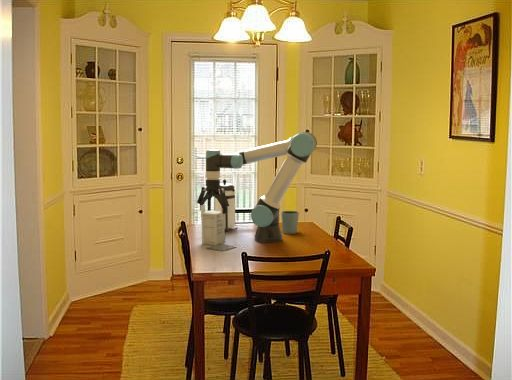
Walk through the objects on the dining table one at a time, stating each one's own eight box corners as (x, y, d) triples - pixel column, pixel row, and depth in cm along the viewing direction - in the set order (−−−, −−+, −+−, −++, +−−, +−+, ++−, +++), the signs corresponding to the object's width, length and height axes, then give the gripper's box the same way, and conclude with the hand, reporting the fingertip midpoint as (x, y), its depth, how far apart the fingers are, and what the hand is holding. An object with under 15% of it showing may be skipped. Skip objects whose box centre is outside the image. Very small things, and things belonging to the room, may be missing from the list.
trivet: (236, 247, 307) (236, 246, 307) (223, 251, 298) (223, 250, 298) (220, 244, 313) (220, 243, 313) (206, 248, 304) (206, 247, 304)
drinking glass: (278, 232, 343) (278, 212, 342) (286, 229, 352) (287, 210, 350) (293, 234, 338) (293, 214, 336) (301, 231, 346) (301, 211, 345)
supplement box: (225, 241, 320) (225, 211, 318) (217, 245, 312) (216, 214, 309) (209, 240, 324) (209, 210, 322) (201, 243, 316) (200, 212, 313)
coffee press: (235, 226, 363) (235, 177, 359) (238, 231, 348) (238, 180, 344) (207, 226, 361) (207, 178, 357) (209, 232, 345) (208, 181, 341)
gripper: (235, 179, 309) (235, 219, 312) (199, 176, 323) (199, 214, 326) (227, 181, 303) (226, 222, 306) (190, 177, 317) (190, 216, 320)
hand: (212, 218), depth 316 cm, fingers open, 13 cm apart
